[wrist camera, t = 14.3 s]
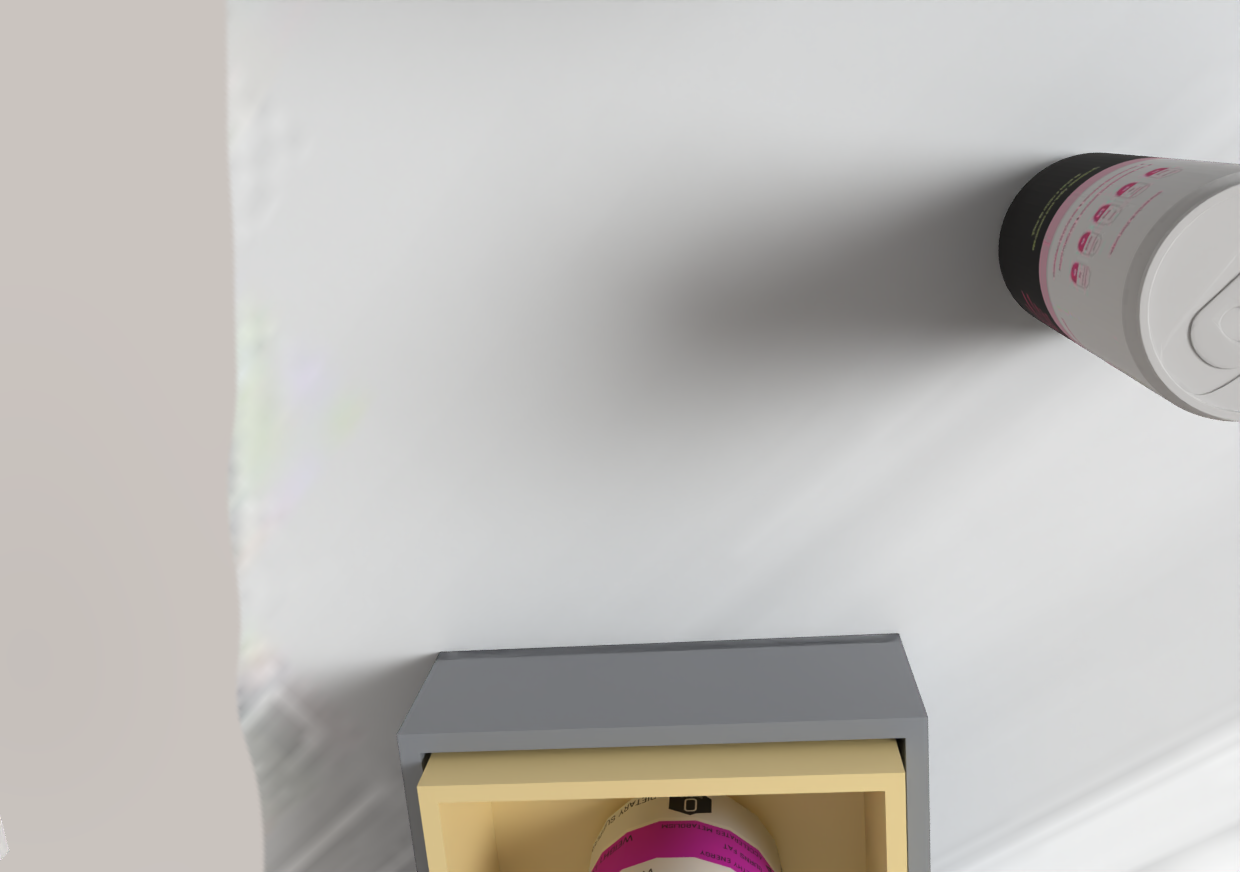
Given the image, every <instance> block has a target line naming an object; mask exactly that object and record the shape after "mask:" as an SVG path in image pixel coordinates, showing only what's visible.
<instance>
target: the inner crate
mask: <svg viewBox="0 0 1240 872" xmlns="http://www.w3.org/2000/svg"><path fill="white" fill-rule="evenodd" d="M417 791H418V798H419V805H420V812H421V819H422V826H423V832H424V839H425V846H426V853H427V860H428V867H429V872H589V866H590V860H591V855H592V849H593V844H594V842H595V840H596V839H597V837H598V835H599V833H600V831H601V830H602V828H603V826H604V824H605V822H606V821H607V819H608V818H609V817H610V816H611V815H613V814H614V813H615V812H616V811H618V810H619V809H620V808H621V807H622V806H624V805H625V804H626V803H627V802H629V801H630V800H631V799H633V798H643V797H680V796H717V795H724V796H728V797H730V798H732V799H733V800H735V801H736V802H738V803H739V804H740V805H742V806H743V807H745V808H746V809H748V810H749V811H751V812H752V813H754V814H755V815H756V816H757V817H758V818H759V819H760V821H761V822H762V824H763V825H764V826H765V828H766V829H767V830H768V832H769V833H770V835H771V836H772V837H773V839H774V840H775V842H776V846H777V850H778V854H779V858H780V862H781V866H782V870H783V872H907V834H906V789H905V770H904V767H903V763H902V760H901V756H900V753H899V749H898V746H897V742H896V739H895V738H886V739H854V740H823V741H791V742H759V743H727V744H695V745H663V746H631V747H599V748H567V749H535V750H504V751H472V752H440V753H432V754H431V756H430V759H429V761H428V763H427V765H426V767H425V770H424V772H423V774H422V776H421V778H420V781H419V783H418V785H417Z"/></svg>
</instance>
